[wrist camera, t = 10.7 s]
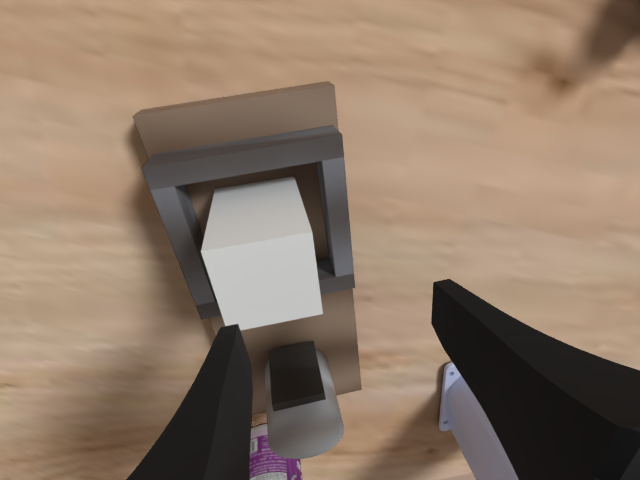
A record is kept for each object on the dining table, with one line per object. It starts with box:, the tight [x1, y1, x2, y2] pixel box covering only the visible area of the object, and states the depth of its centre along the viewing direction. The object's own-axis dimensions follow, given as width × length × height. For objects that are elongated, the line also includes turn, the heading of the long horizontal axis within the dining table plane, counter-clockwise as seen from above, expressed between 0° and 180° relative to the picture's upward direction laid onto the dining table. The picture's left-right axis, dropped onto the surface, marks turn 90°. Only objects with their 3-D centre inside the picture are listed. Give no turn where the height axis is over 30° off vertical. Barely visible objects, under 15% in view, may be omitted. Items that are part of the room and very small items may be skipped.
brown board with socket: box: [133, 82, 362, 459], centre depth 20 cm, size 22×9×6 cm, turn 7°
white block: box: [201, 176, 323, 331], centre depth 16 cm, size 4×4×6 cm
